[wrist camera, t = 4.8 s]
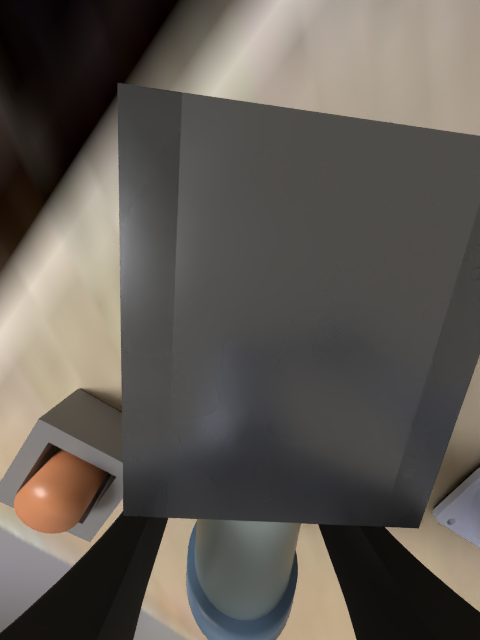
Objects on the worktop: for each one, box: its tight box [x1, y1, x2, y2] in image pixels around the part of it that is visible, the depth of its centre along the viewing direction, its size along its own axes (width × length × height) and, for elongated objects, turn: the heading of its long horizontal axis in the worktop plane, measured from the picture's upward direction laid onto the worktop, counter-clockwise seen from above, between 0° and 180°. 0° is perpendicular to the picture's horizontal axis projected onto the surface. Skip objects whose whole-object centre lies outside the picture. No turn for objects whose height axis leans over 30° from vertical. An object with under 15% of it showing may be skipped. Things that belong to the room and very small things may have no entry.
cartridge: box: [186, 519, 301, 640], centre depth 9 cm, size 15×5×5 cm, turn 174°
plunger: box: [14, 448, 108, 533], centre depth 10 cm, size 3×3×3 cm
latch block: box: [0, 389, 123, 542], centre depth 11 cm, size 5×5×2 cm
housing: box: [118, 83, 480, 528], centre depth 8 cm, size 9×7×6 cm
